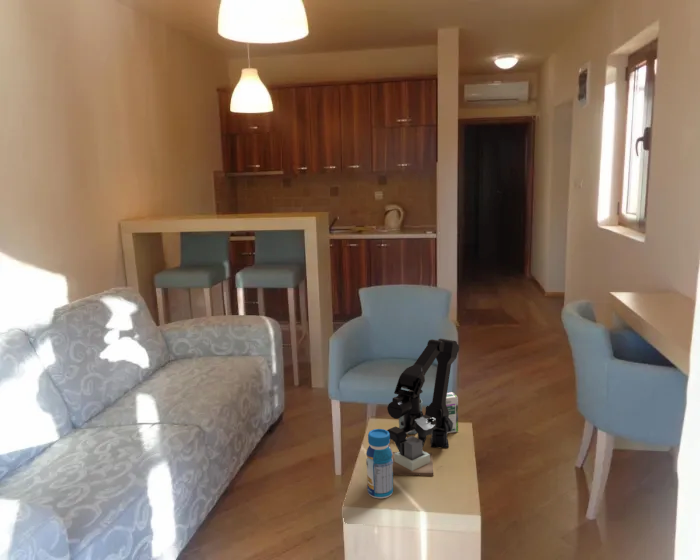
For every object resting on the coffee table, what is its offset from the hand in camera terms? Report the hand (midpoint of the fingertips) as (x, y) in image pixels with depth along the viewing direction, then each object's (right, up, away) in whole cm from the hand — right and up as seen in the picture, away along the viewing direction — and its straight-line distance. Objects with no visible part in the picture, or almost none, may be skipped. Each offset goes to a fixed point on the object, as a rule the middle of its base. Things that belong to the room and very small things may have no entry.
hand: (412, 451), depth 194 cm
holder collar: (0, -5, +1) cm, 5 cm away
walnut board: (0, -5, +1) cm, 5 cm away
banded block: (0, -4, +1) cm, 4 cm away
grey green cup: (+2, 0, +28) cm, 28 cm away
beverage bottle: (-12, -8, -16) cm, 21 cm away
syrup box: (+17, 0, +27) cm, 32 cm away
